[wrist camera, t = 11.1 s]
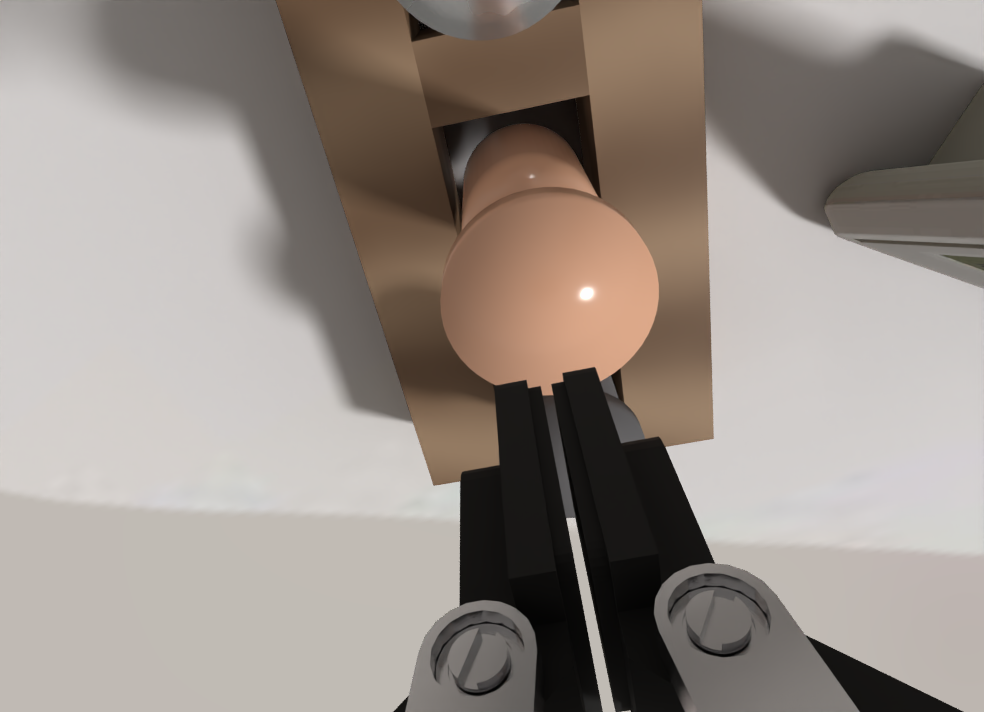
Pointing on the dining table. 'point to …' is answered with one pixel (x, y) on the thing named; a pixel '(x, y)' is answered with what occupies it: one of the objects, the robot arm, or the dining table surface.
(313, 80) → the walnut block
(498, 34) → the grey peg
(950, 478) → the dining table surface
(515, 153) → the terracotta peg
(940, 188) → the digital clock
